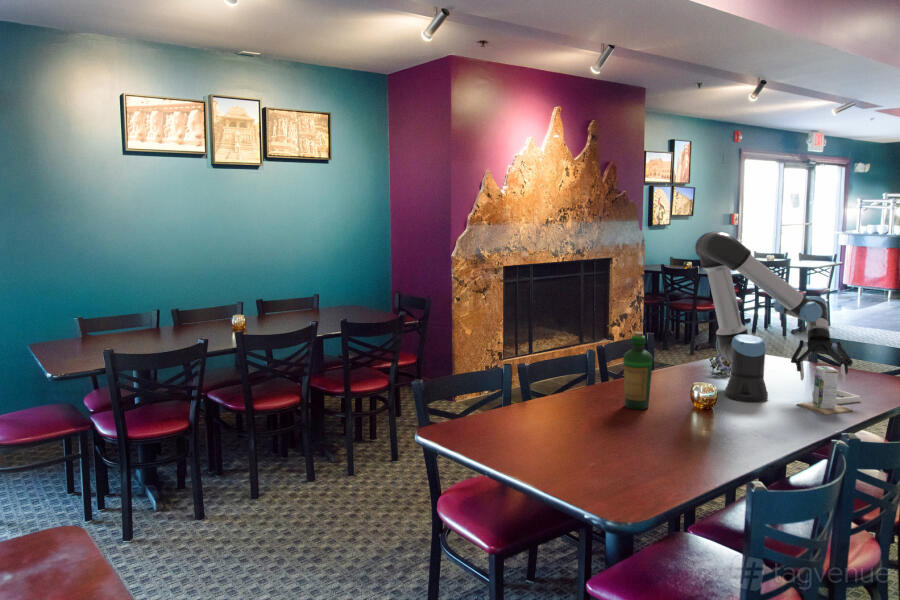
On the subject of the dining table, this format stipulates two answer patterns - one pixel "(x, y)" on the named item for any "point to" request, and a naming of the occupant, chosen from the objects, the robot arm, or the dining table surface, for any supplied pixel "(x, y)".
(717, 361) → the passion flower
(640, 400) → the bottle
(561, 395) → the dining table surface
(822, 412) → the mat
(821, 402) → the syrup box
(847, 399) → the white square frame
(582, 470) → the dining table surface
